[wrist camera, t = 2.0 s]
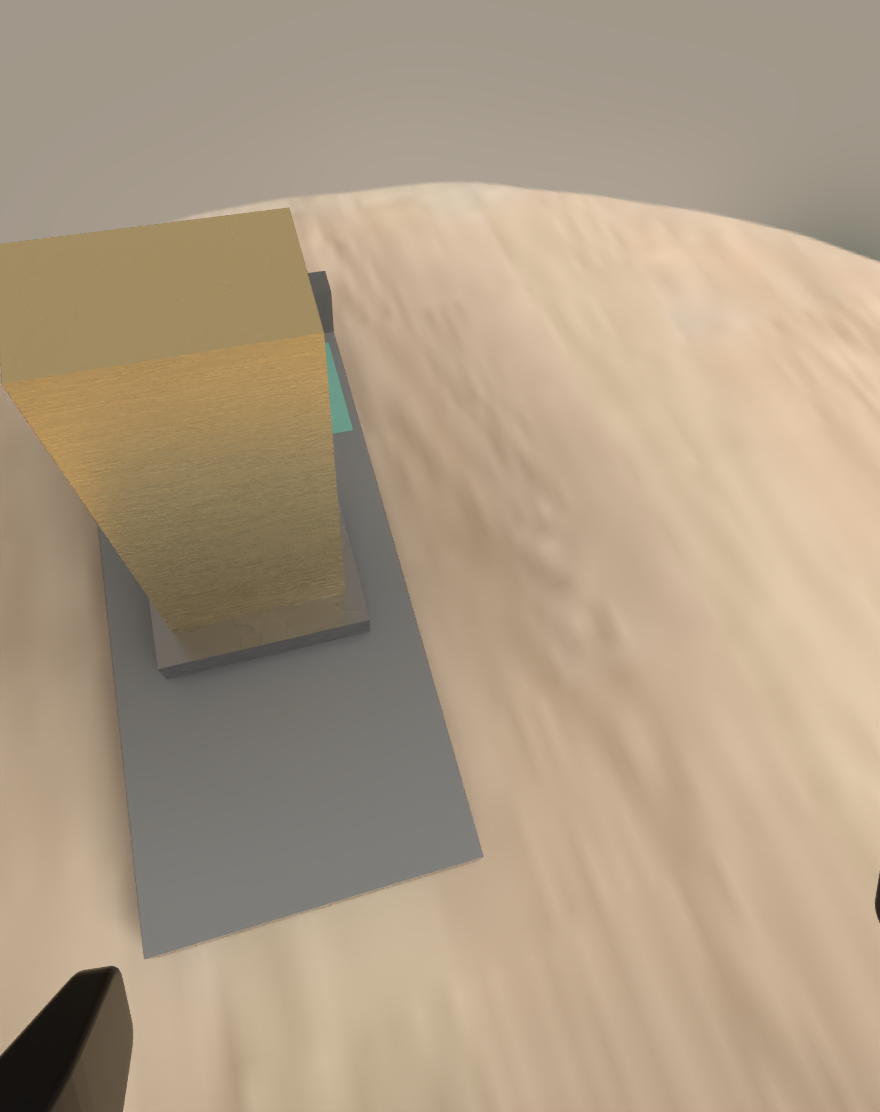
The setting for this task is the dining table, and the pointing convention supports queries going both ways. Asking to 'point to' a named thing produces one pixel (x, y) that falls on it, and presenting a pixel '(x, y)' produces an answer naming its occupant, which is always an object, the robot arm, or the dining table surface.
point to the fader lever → (191, 424)
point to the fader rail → (287, 745)
